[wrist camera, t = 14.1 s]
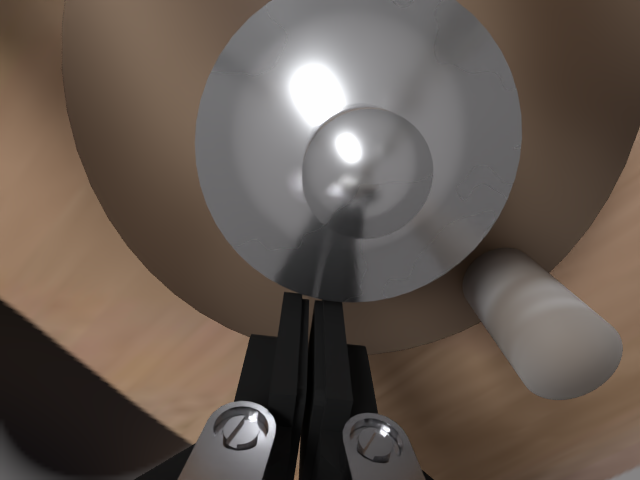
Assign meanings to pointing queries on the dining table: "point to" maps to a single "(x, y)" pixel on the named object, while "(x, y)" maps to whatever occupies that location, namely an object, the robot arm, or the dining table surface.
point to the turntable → (427, 301)
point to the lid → (358, 143)
